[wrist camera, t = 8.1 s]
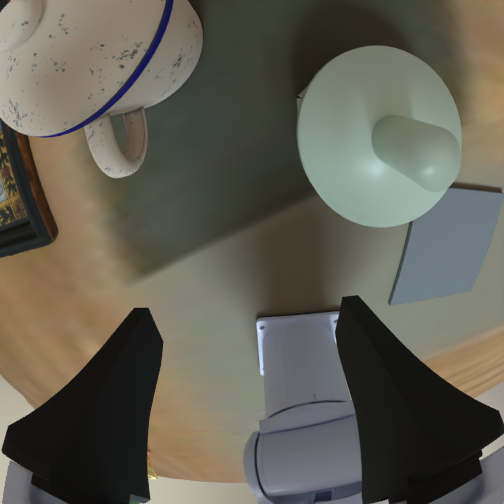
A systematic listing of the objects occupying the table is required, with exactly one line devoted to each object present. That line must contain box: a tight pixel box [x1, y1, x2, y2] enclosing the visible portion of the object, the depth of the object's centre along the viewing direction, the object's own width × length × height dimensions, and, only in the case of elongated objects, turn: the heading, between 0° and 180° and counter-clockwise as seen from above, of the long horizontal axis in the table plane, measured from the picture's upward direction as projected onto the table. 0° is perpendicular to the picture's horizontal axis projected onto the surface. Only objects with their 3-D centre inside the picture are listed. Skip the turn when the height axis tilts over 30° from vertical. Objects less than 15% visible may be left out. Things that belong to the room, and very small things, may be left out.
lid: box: [296, 46, 462, 228], centre depth 10 cm, size 10×10×5 cm
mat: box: [389, 187, 504, 305], centre depth 20 cm, size 12×12×1 cm
